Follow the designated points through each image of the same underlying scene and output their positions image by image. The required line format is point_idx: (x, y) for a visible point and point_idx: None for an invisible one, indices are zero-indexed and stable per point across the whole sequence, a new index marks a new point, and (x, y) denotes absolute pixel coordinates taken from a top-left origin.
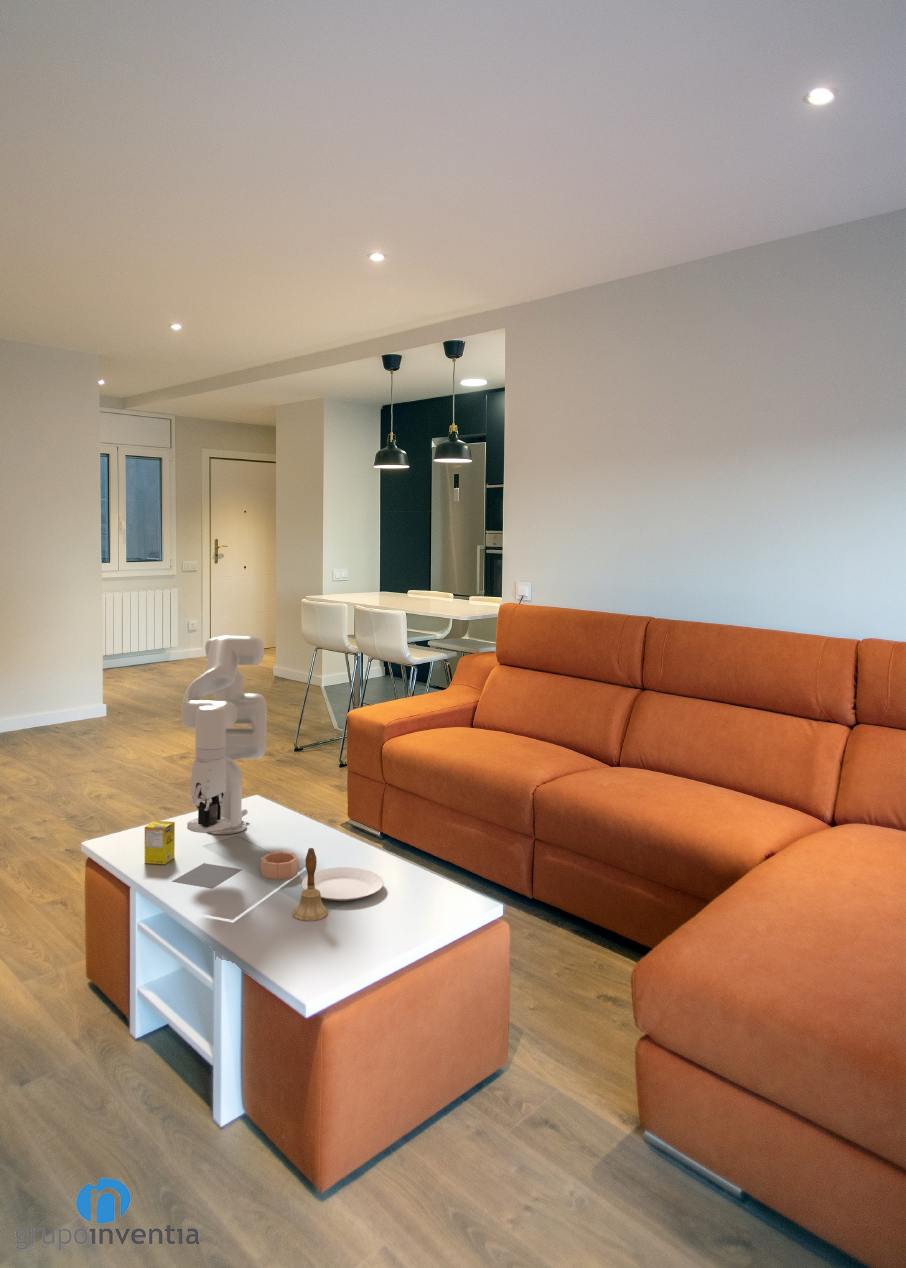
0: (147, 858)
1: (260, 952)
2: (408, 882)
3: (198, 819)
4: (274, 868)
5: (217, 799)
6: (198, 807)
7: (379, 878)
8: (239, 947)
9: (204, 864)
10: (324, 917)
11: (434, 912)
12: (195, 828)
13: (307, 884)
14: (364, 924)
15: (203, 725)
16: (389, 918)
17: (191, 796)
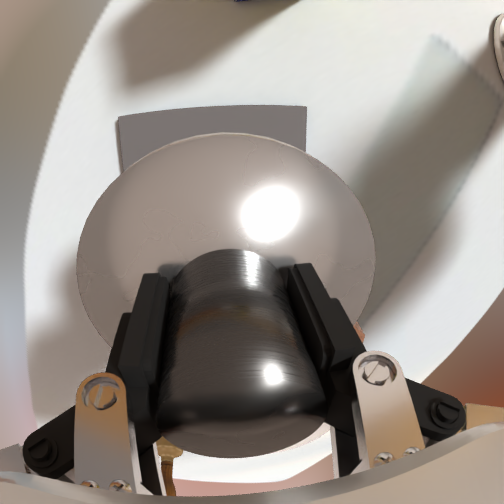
0: None
1: (50, 410)
2: (324, 440)
3: (137, 296)
4: None
5: (335, 454)
6: (64, 427)
7: (309, 440)
8: (37, 392)
9: (295, 115)
10: None
11: (248, 471)
12: (86, 291)
13: (161, 462)
14: (182, 455)
15: None
16: (211, 462)
17: None
